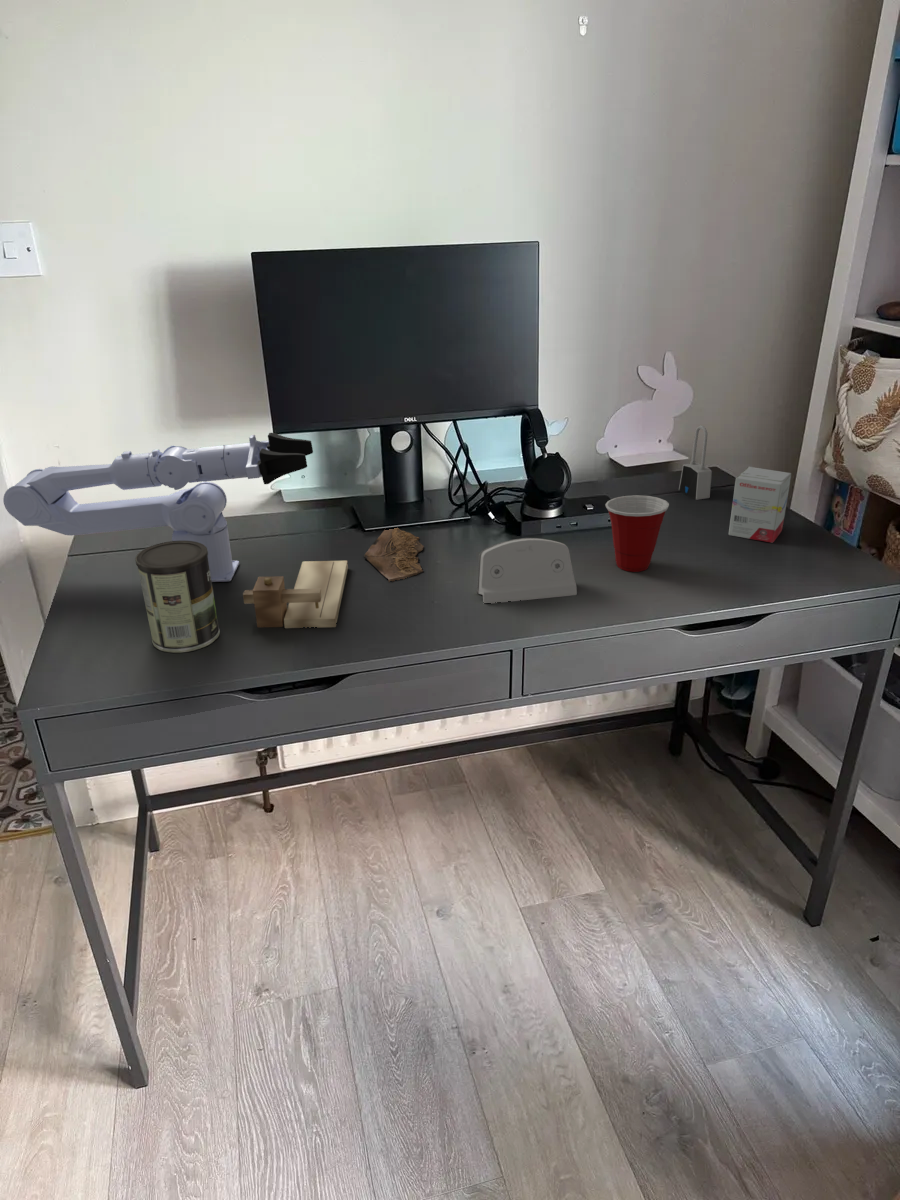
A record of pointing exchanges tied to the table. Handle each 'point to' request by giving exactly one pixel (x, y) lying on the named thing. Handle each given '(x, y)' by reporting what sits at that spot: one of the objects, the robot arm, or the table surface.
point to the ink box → (759, 504)
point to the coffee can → (178, 595)
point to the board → (331, 584)
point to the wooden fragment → (395, 554)
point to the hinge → (525, 571)
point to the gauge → (276, 600)
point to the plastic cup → (635, 529)
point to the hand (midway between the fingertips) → (309, 453)
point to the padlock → (696, 473)
